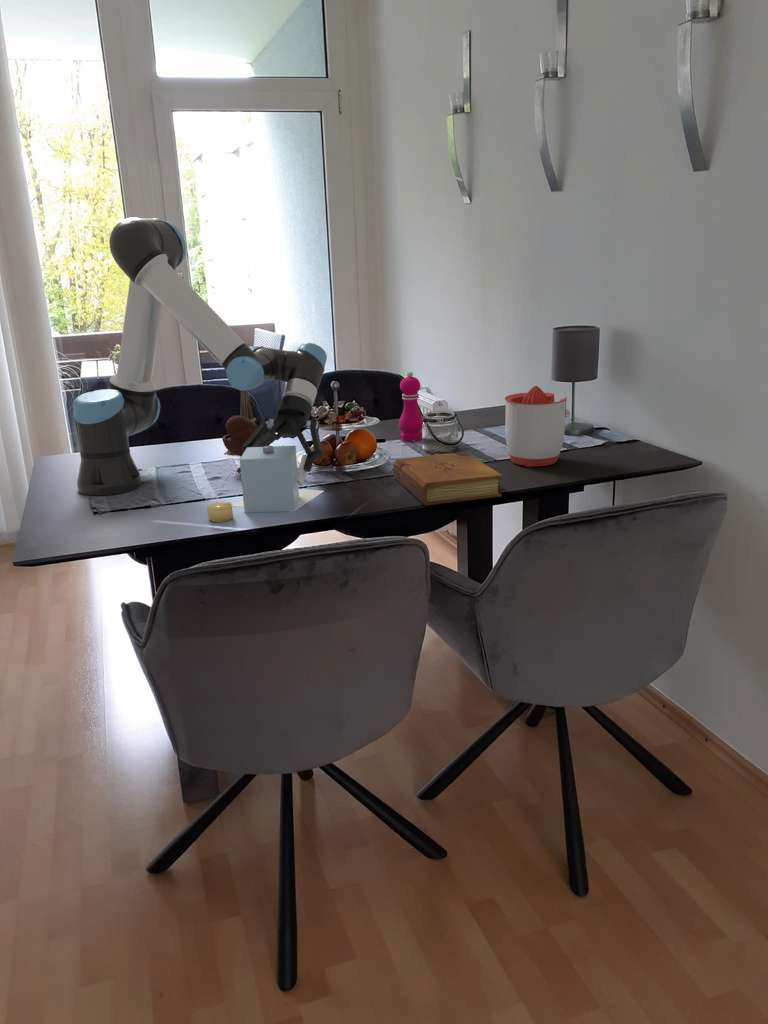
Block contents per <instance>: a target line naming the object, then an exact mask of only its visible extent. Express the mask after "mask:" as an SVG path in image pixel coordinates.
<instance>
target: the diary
mask: <svg viewBox="0 0 768 1024" xmlns="http://www.w3.org/2000/svg"><path fill="white" fill-rule="evenodd" d="M392 464H393V478H394V480H396V482H398V483H399V484H400V485H401V486H402V487H404V488H405V489H406V490H407V491H408V492H409V491H410V492H409V493H410V494H411V495H413V496H414V497H415V498H416V499H417V500H419V502H421V504H423V505H424V506H431V505H434V506H435V505H440V504H448V503H449V504H450V503H457V502H464V501H473V500H482V499H491V498H500V497H502V495H503V494H502V493H501V492H499V480H500V479H502V478H503V477H502V475H503V474H502V473H499V472H498V471H497V470H495V469H493V468H492V467H490V465H489V466H488V465H487V464H485V463H483V462H482V461H480V460H479V459H477V458H475V457H474V456H472V455H471V454H468V453H467V452H465V451H461V452H450V453H449V452H448V453H440V454H432V455H422V456H413V457H411V456H410V457H405V458H403V457H402V458H396V459H395V460H394V462H393V463H392Z"/></svg>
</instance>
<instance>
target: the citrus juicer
mask: <svg viewBox="0 0 768 1024" xmlns="http://www.w3.org/2000/svg"><path fill="white" fill-rule="evenodd" d="M567 400H568V398H567V396H565V397H563V398H561V399H560V400H559V401H555V393H553V392H551V393H550V392H544V391H543V390H542V389H541V388H540V387H539V386H538V385H534V386H533V387H532V388H530V389H529V390H528V391H527V392H519V393H513V394H509V395H506V396H505V397H504V401H505V425H504V426H505V430H504V431H505V442H506V447H507V451H508V455H509V458H510V460H511V463H512V464H513V463H514V464H516V465H520V466H525V467H526V468H533V467H542V466H544V467H545V466H550V465H554V464H555V463H557V461H558V459H559V458H560V457H559V456H560V455H561V451H562V447H563V444H564V440H565V430H566V429H565V427H566V418H567V416H570V415H571V411H570V410H569V409H567Z"/></svg>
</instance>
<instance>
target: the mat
mask: <svg viewBox="0 0 768 1024" xmlns="http://www.w3.org/2000/svg"><path fill="white" fill-rule="evenodd" d="M324 492H325V490H316V489H303V488H299V498H298V502H297V505H296V509H295V511H297V510H298V509H300V508H302V507H303V506H305V505H306V504H307V503H309V502H310V501H312V500H313V499H315V498H317V496H319V495H321V494H322V493H324ZM231 504H232V507H237V508H244V501H243V498H241V499H239V500H238V501H236V502H235V503H231ZM295 511H291V512H295Z"/></svg>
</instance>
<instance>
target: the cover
mask: <svg viewBox="0 0 768 1024" xmlns="http://www.w3.org/2000/svg"><path fill="white" fill-rule="evenodd" d="M240 457H241V456H240ZM240 457H239V466H240V468H241V472H240V477H241V488H242V499H243V501H244V507H243V511H244V514H246V513H247V514H248V513H268V512H269V513H274V512H278V513H279V512H292V511H294V512H295V509H296V505H297V502H298V498H299V489H300V486H299V484H298V483H297V482H296V480H295V479H296V476H297V473H298V461H297V459H298V458H297V446H296V445H279V446H278V445H277V446H275V445H274V446H273V445H269V446H264V447H247V449H246V450H245V452H244V453H243V455H242V457H241V458H240Z"/></svg>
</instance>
